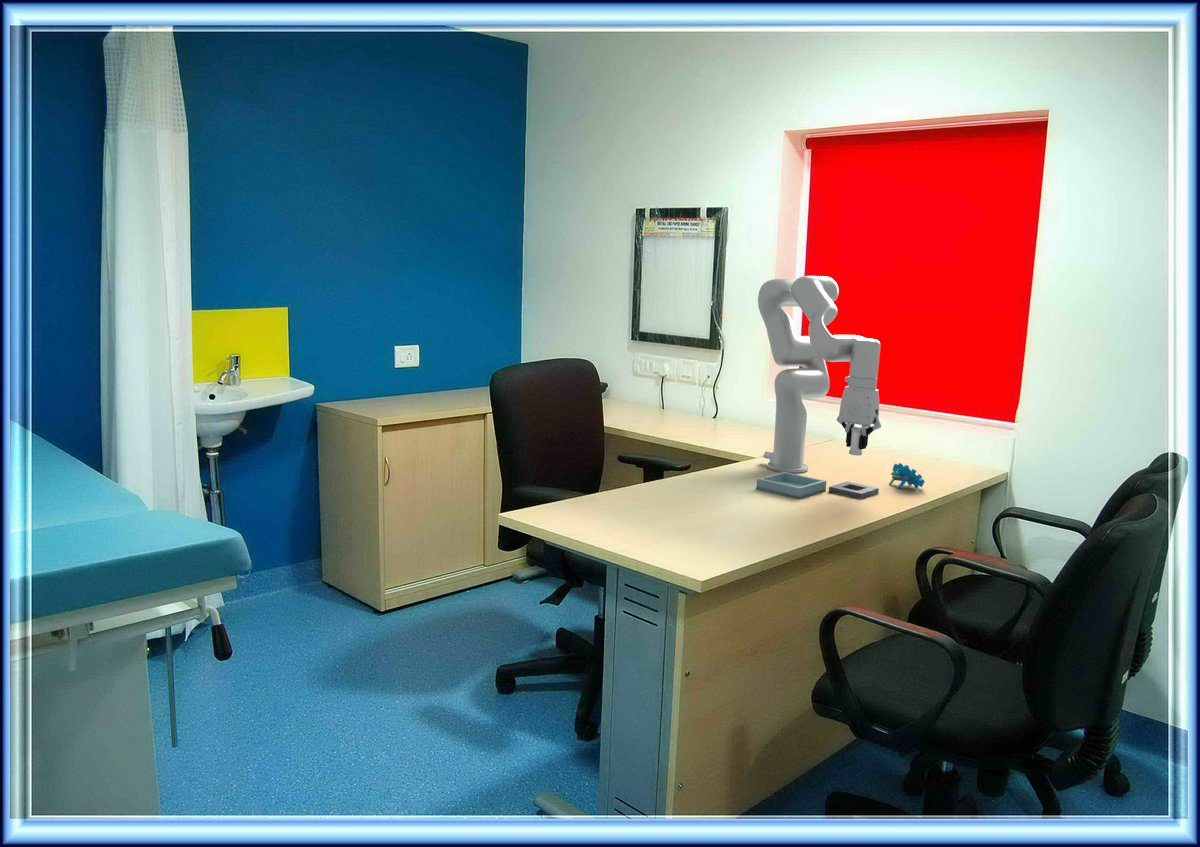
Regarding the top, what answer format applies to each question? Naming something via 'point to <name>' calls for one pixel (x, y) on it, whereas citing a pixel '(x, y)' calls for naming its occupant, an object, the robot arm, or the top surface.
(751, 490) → the top surface
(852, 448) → the cylinder
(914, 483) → the blue lumpy figure
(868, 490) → the frame
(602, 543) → the top surface
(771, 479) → the parts tray
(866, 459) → the top surface
